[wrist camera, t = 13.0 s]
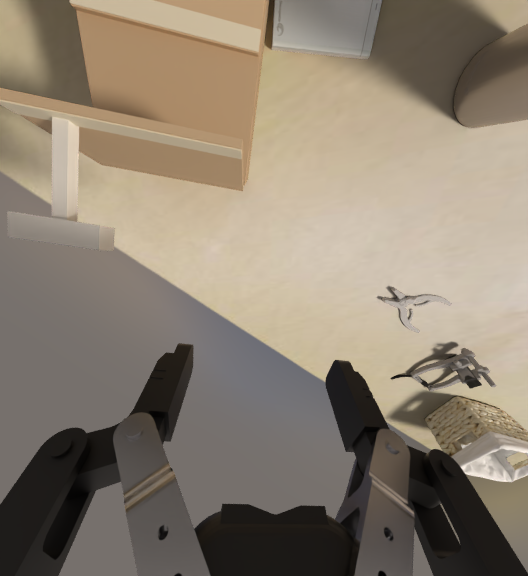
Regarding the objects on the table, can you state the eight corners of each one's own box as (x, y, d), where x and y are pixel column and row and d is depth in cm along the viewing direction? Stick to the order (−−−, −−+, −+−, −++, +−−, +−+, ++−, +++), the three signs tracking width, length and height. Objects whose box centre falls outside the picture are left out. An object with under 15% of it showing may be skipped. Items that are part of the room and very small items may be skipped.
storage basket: (417, 418, 72) (451, 473, 59) (456, 390, 65) (504, 446, 52) (467, 431, 77) (509, 484, 65) (508, 406, 70) (564, 461, 57)
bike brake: (464, 340, 53) (387, 370, 63) (485, 365, 48) (397, 393, 57) (484, 364, 58) (409, 388, 68) (504, 389, 53) (421, 411, 62)
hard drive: (271, 45, 26) (370, 56, 27) (278, -68, 22) (394, -53, 23) (270, 52, 28) (364, 61, 28) (276, -54, 23) (386, -40, 24)
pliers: (420, 335, 51) (373, 312, 47) (415, 331, 52) (370, 308, 48) (455, 305, 47) (407, 277, 43) (450, 301, 48) (402, 273, 44)
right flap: (242, 139, 15) (226, 269, 16) (243, 185, 26) (233, 262, 27) (-12, 85, 13) (-6, 235, 15) (101, 159, 24) (98, 242, 25)
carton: (279, -40, 24) (332, -530, 7) (250, 180, 34) (244, 196, 18) (119, -90, 22) (-331, -921, 5) (142, 159, 33) (23, 156, 16)
